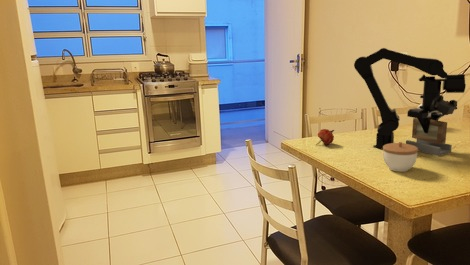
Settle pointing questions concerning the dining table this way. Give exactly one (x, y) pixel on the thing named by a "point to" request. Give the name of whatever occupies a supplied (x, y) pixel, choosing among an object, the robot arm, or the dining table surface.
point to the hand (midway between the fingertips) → (428, 132)
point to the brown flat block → (430, 131)
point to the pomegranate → (326, 136)
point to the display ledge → (431, 147)
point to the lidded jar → (400, 156)
